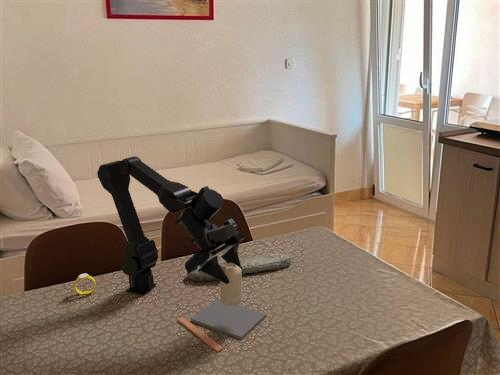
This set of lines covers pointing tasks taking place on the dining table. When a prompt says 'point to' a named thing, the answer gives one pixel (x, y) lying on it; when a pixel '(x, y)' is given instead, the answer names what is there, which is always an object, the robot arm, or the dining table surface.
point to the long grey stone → (248, 265)
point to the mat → (229, 318)
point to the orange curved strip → (200, 334)
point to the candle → (231, 285)
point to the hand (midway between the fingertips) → (235, 278)
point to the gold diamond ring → (82, 277)
